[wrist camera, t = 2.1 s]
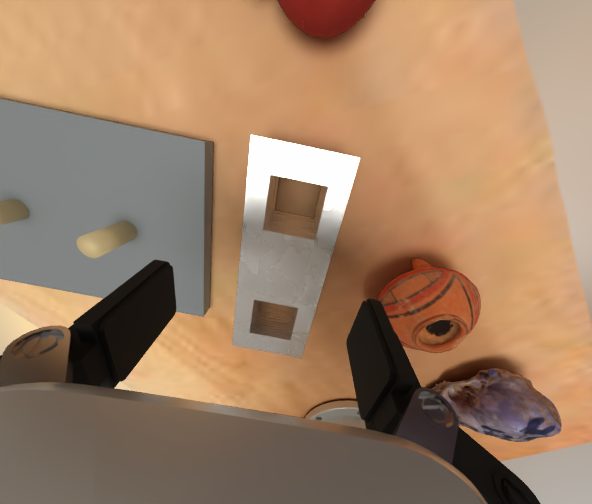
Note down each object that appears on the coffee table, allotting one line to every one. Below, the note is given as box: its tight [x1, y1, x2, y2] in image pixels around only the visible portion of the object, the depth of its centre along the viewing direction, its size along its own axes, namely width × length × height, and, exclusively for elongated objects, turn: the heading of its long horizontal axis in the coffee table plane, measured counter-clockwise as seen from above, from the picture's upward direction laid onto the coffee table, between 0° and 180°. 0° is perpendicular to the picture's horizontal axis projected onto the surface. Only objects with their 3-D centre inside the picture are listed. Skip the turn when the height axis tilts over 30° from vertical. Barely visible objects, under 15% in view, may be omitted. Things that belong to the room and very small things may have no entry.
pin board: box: [0, 98, 213, 317], centre depth 17 cm, size 16×22×5 cm
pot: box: [377, 259, 481, 353], centre depth 18 cm, size 8×8×7 cm
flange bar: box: [232, 135, 360, 358], centre depth 17 cm, size 16×6×5 cm, turn 169°
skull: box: [432, 368, 561, 442], centre depth 23 cm, size 12×8×6 cm, turn 118°
